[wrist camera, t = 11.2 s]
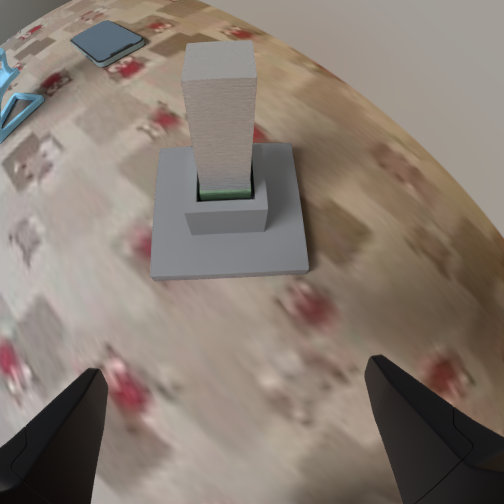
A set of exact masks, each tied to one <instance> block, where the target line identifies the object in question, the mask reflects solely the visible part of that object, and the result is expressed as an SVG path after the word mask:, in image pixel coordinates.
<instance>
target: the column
mask: <svg viewBox="0 0 504 504" xmlns="http://www.w3.org/2000/svg"><path fill="white" fill-rule="evenodd" d="M181 84H182V90H183V96H184V102H185V108H186V113H187V119H188V125H189V130H190V136H191V141H192V147H193V152H194V158H195V163H196V168H197V173H198V178H199V184H200V197H201V200H212V199H233V198H251V184H250V174H251V159H252V144H253V129H254V115H255V100H256V86H257V73H256V65H255V57H254V50H253V42H252V41H217V42H201V43H188V44H187V46H186V52H185V58H184V65H183V71H182V78H181Z"/></svg>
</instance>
